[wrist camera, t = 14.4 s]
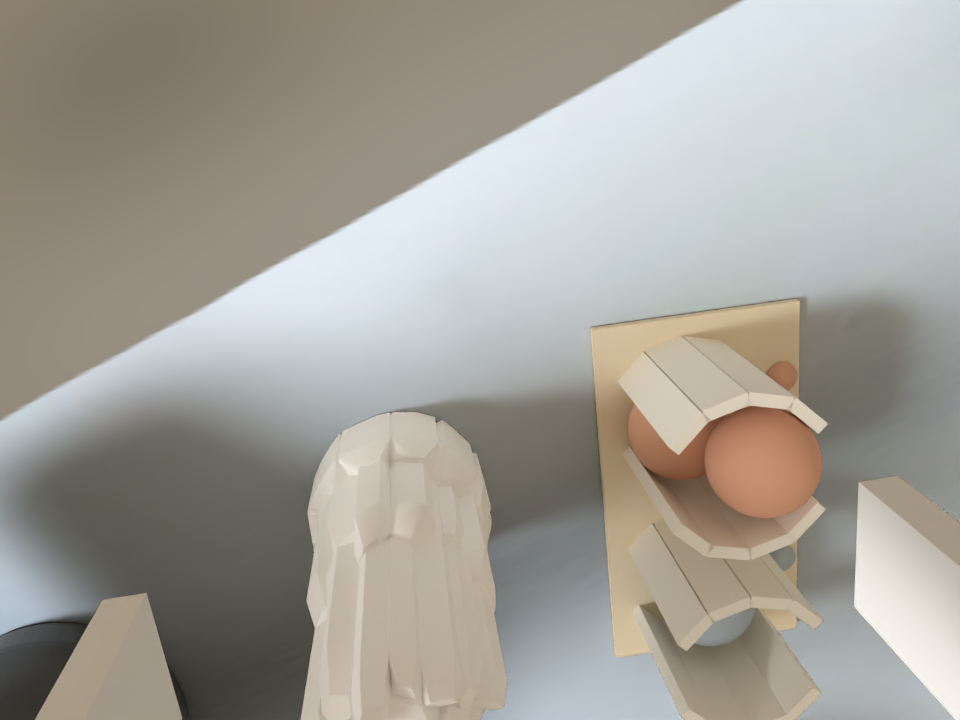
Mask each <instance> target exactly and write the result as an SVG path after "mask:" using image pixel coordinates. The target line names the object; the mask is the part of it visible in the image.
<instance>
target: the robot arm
mask: <svg viewBox="0 0 960 720" xmlns="http://www.w3.org/2000/svg"><path fill="white" fill-rule="evenodd" d="M854 607H855V608H856V609H857V610H858V612H859V613H860V614H861V615H862V616H863V617H864V618H865V619H866V620H867V622H868V623H869V624H870V625H871V626H872V627H873V628H874V629H875V630H876V632H877V633H878V634H879V635H880V636H881V637H882V638H883V639H884V641H885V642H886V643H887V644H888V645H889V646H890V647H891V648H892V649H893V651H894V652H895V653H896V654H897V655H898V656H899V657H900V658H901V659H902V661H903V662H904V663H905V664H906V665H907V666H908V667H909V668H910V670H911V671H912V672H913V673H914V674H915V675H916V676H917V677H918V678H919V680H920V681H921V682H922V683H923V684H924V685H925V686H926V687H927V688H928V690H929V691H930V692H931V693H932V694H933V695H934V696H935V697H936V698H937V700H938V701H939V702H940V703H941V704H942V705H943V706H944V707H945V709H946V710H947V711H948V712H949V713H950V714H951V715H952V716H953V717H954V719H955V720H960V523H959V522H958V521H957V520H955V519H954V518H953V517H952V516H950V515H949V514H948V513H946V512H945V511H944V510H942V509H941V508H940V507H938V506H937V505H936V504H934V503H933V502H932V501H931V500H929V499H928V498H927V497H925V496H924V495H923V494H921V493H920V492H919V491H917V490H916V489H915V488H913V487H912V486H911V485H909V484H908V483H907V482H906V481H904V480H903V479H902V478H900V477H899V476H894V477H887V478H881V479H874V480H868V481H861V482H859V489H858V516H857V543H856V570H855V597H854ZM0 720H188V719H187V709H186V704H185V700H184V697H183V694H182V692H181V689H180V687H179V685H178V683H177V682H176V680H175V678H174V677H173V675H172V674H171V673H170V671H169V670H168V666H167V663H166V659H165V656H164V652H163V649H162V645H161V642H160V638H159V635H158V631H157V628H156V624H155V621H154V617H153V614H152V610H151V607H150V603H149V600H148V596H147V593H143V594H136V595H130V596H124V597H117V598H111V599H104V600H102V602H101V603H100V605H99V607H98V609H97V610H96V612H95V614H94V616H93V618H92V619H91V621H90V623H89V625H83V624H75V623H48V624H40V625H34V626H29V627H25V628H21V629H18V630H15V631H12V632H9V633H7V634H4V635H2V636H0Z"/></svg>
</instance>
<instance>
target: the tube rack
mask: <svg viewBox="0 0 960 720" xmlns="http://www.w3.org/2000/svg"><path fill="white" fill-rule="evenodd" d="M590 333H591V346H592V360H593V373H594V386H595V400H596V413H597V427H598V440H599V453H600V467H601V480H602V494H603V507H604V520H605V534H606V547H607V561H608V574H609V587H610V601H611V614H612V628H613V641H614V653H615V655H616V658H619V657H625V656H631V655H637V654H643V653H649V652H651V654H652V656H653V658H654V660H655V662H656V665H657V667H658V669H659V671H660V673H661V675H662V677H663V680H664V682H665V684H666V686H667V688H668V690H669V693H670V695H671V697H672V699H673V701H674V703H675V706H676V708H677V710H678V712H679V714H680V716H681V718H683V719H684V720H795V719H796V718H797V717H798V716H799V715H800V714H801V713H802V712H803V711H804V710H805V709H806V708H807V707H808V706H809V705H811V704H812V703H813V702H814V701H815V700H816V699H817V698H818V697H819V696H820V695H821V694H822V692H821V691H820V690H819V688H818V687H817V685H816V684H815V683H814V681H813V680H812V678H811V677H810V676H809V674H808V673H807V671H806V670H805V669H804V667H803V666H802V664H801V663H800V662H799V660H798V659H797V657H796V656H795V655H794V653H793V652H792V651H791V649H790V648H789V646H788V645H787V644H786V642H785V641H784V639H783V638H782V637H781V635H780V634H779V632H778V631H781V630H787V629H793V628H796V617H798V618H799V619H801V620H802V621H803V622H805V623H806V624H808V625H809V626H810V627H812V628H813V629H816V628H817V627H818V626H819V625H820V624H821V623H822V622H823V620H822V618H821V617H820V616H819V615H818V613H817V612H816V611H815V610H814V608H813V607H812V606H811V605H810V604H809V602H808V601H807V600H806V599H805V597H804V596H803V595H802V594H801V593H800V591H799V590H798V589H797V540H798V539H799V538H800V536H801V535H802V534H803V533H804V532H805V531H806V530H807V529H808V528H809V527H810V526H811V525H812V524H813V523H814V522H815V521H816V520H817V519H818V518H819V516H820V515H821V514H822V513H823V512H824V511H825V510H826V509H825V508H824V507H823V506H822V505H821V504H820V503H819V502H818V501H817V500H816V499H815V498H814V497H813V496H811V498H810V499H809V500H808V501H807V502H806V503H805V504H804V505H803V506H801V507H800V508H798V509H797V510H795V511H793V512H791V513H789V514H786V515H783V516H779V517H774V518H757V517H752V516H748V515H745V514H742V513H740V512H738V511H736V510H734V509H733V508H731V507H729V506H728V505H727V504H726V503H724V502H723V501H722V500H721V499H720V498H719V496H718V495H717V494H716V493H715V491H714V490H713V488H712V486H711V485H710V483H709V480H708V477H707V475H706V474H704V475H702V476H700V477H697V478H694V479H689V480H673V479H668V478H664V477H662V476H659V475H657V474H655V473H653V472H652V471H650V470H649V469H648V468H647V467H645V466H644V465H643V464H642V463H641V462H640V460H639V459H638V458H637V456H636V455H635V453H634V451H633V449H632V447H631V444H630V440H629V435H628V422H629V417H630V414H631V410H632V408H633V406H634V404H635V405H636V406H637V407H638V409H639V410H640V411H641V413H642V414H643V415H644V416H645V418H646V419H647V420H648V422H649V423H650V424H651V425H652V427H653V428H654V429H655V431H656V432H657V433H658V434H659V436H660V437H661V438H662V440H663V441H664V442H665V443H666V445H667V446H668V447H669V448H670V449H671V450H673V451H674V452H675V453H677V454H678V455H679V454H680V453H681V452H682V451H683V450H684V449H685V448H686V447H687V445H688V444H689V443H690V442H691V441H692V440H693V439H694V438H695V436H696V435H697V434H698V433H699V432H700V431H701V430H702V429H703V427H704V426H705V425H706V424H707V423H708V422H709V421H712V420H714V419H716V418H719V417H721V416H724V415H726V414H729V415H730V414H731V413H733V412H735V411H737V410H740V409H743V408H746V407H751V406H759V407H768V408H778V409H783V410H785V411H788V412H790V413H792V414H793V415H795V416H797V417H798V418H800V419H801V420H802V421H803V422H804V423H806V424H807V425H808V426H809V427H811V428H812V429H813V430H814V431H816V432H817V433H818V434H819V433H820V432H821V431H822V430H823V429H824V428H825V427H826V426H827V424H828V423H827V422H826V421H824V420H823V419H822V418H821V417H819V416H818V415H817V414H816V413H815V412H813V411H812V410H811V409H810V408H808V407H807V406H806V405H805V404H804V403H802V402H801V401H800V400H799V336H800V301H799V300H797V299H789V300H782V301H775V302H768V303H761V304H754V305H747V306H740V307H733V308H725V309H718V310H711V311H704V312H697V313H690V314H683V315H676V316H669V317H662V318H655V319H647V320H640V321H633V322H626V323H619V324H612V325H605V326H598V327H591V328H590ZM749 608H755V612H754V615H753V618H752V621H751V623H750V625H749V626H748V628H747V629H746V630H745V632H744V633H743V634H742V635H741V636H740V637H738V638H737V639H736V640H734V641H732V642H730V643H728V644H725V645H721V646H715V647H707V646H700V645H696V644H694V643H695V642H696V641H697V640H698V639H699V638H700V637H701V636H702V635H703V634H704V632H705V631H706V630H707V629H708V628H709V627H710V626H711V625H712V624H713V623H714V622H716V621H719V620H721V619H724V618H726V617H729V616H731V615H734V614H736V613H739V612H741V611H744V610H746V609H749Z"/></svg>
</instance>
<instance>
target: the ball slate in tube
mask: <svg viewBox="0 0 960 720" xmlns="http://www.w3.org/2000/svg"><path fill="white" fill-rule="evenodd" d="M754 612H755V608H749V609H746V610H744V611H741V612H739V613H736V614H734V615H731V616H729V617H726V618H724V619H721V620H719V621H716V622H714V623H713V624H712V625H711V626H710V627H709V628H708V629H707V630H706V631H705V632H704V634H703V635H702V636H701V637H700V638H699V639H698V640H697V641H696V642H695V643H694V644H696V645H700V646H707V647H715V646H721V645H725V644H728V643H730V642H732V641H734V640H736V639H737V638H738V637H740V636H741V635H742V634H743V633H744V632H745V630H746V629H747V628H748V626H749V625H750V623H751V621H752V618H753V615H754Z"/></svg>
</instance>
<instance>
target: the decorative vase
mask: <svg viewBox="0 0 960 720" xmlns="http://www.w3.org/2000/svg"><path fill="white" fill-rule="evenodd" d="M490 510H491V505H490V501H489V497H488V493H487V489H486V485H485V480H484V477H483V473H482V470H481V467H480V463H479V460H478V457H477V453H473V452H472V450H471V446H470V444H469V443H468V442H467V441H466V440H465V439H464V438H463V437H462V436H461V435H460V434H459V433H458V432H457V431H456V430H454V429H453V428H452V427H451V426H450V425H448V424H447V423H446V422H444V421H443V420H441V421H439V422H437V423H436V421H435V417H433V416H429V415H425V414H422V413H418V412H393V413H392V414H390V413H385V414H380V415H377V416H374V417H372V418H369V419H367V420H365V421H363V422H360V423H358V424H356V425H354V426H352V427H350V428H347V429H346V430H344V431H342V434H339V435H338V436H337V438H336V439H335V440H334V442H333V443H332V444H331V446H330V447H329V449H328V450H327V452H326V454H325V455H324V457H323V459H322V460H321V463H320V465H319V467H318V470H317V472H316V474H315V477H314V482H313V487H312V492H311V497H310V501H309V506H308V511H307V515H308V520H309V526H310V531H311V537H312V543H313V549H314V557H313V563H312V569H311V575H310V581H309V587H308V593H307V599H306V601H307V605H308V608H309V611H310V614H311V617H312V620H313V624H314V627H315V632H314V639H313V645H312V651H311V656H310V663H309V669H308V676H307V682H306V688H305V695H304V701H303V708H302V714H301V720H481V717H482V715H483V712H484V710H485V709H488V710H496V709H502V708H503V707H504V705H505V697H506V690H507V679H506V674H505V669H504V663H503V658H502V653H501V647H500V642H499V637H498V632H497V627H496V622H495V616H494V611H495V610H496V590H495V585H494V580H493V575H492V571H491V566H490V561H489V556H488V551H487V544H488V539H489V535H490V530H491V526H492V519H491V514H490Z"/></svg>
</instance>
